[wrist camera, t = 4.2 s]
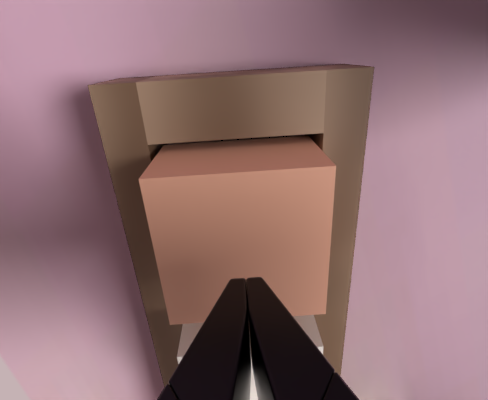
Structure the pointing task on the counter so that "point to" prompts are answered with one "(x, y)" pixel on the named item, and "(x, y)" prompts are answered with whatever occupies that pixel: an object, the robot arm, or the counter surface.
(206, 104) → the wooden compartment tray
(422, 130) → the counter surface
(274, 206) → the button terracotta
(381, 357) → the counter surface
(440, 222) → the counter surface
